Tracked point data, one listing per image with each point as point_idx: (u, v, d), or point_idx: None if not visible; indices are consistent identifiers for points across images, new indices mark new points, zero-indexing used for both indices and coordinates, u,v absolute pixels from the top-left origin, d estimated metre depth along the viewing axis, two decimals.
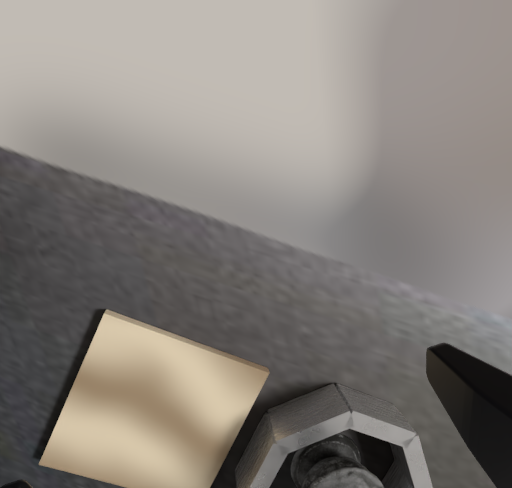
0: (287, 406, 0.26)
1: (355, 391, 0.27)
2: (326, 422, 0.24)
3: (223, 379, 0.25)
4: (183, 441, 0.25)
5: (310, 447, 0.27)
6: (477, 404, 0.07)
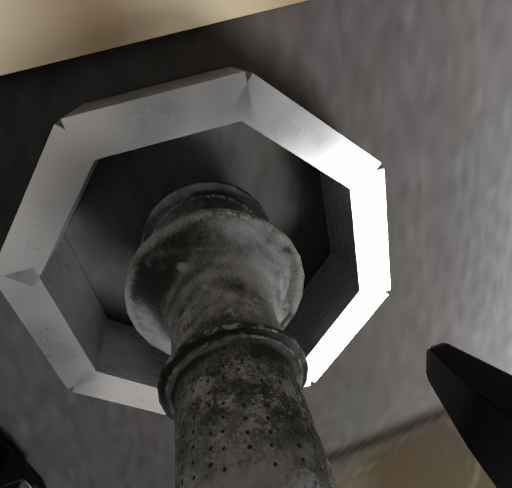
0: None
1: None
2: (341, 140, 0.12)
3: None
4: None
5: (224, 195, 0.14)
6: (477, 404, 0.07)
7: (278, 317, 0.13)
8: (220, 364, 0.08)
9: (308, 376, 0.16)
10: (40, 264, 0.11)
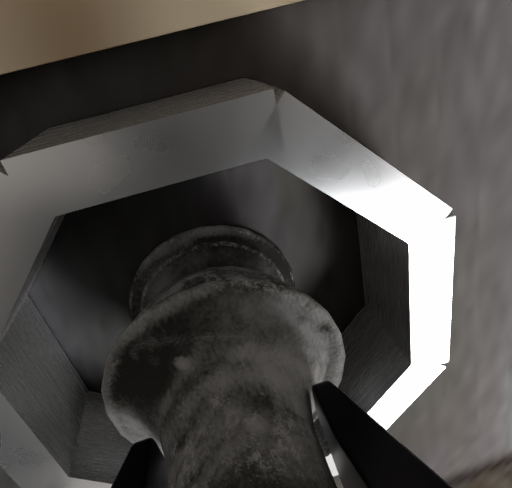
0: None
1: None
2: (402, 181, 0.08)
3: None
4: None
5: (235, 242, 0.11)
6: (340, 451, 0.07)
7: None
8: None
9: None
10: None
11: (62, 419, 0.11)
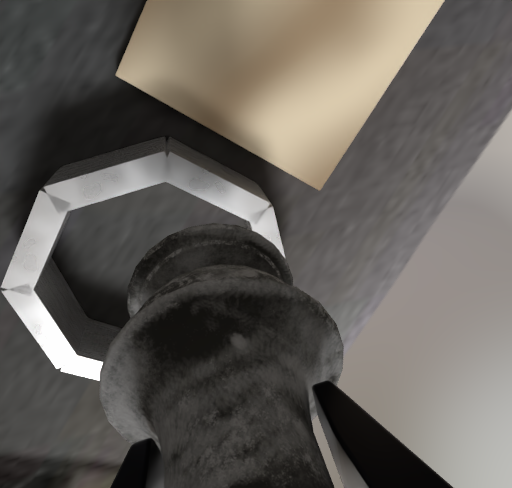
0: None
1: None
2: None
3: (326, 132, 0.19)
4: (244, 63, 0.17)
5: (274, 264, 0.12)
6: (340, 451, 0.07)
7: None
8: None
9: None
10: (76, 205, 0.16)
11: (47, 259, 0.18)
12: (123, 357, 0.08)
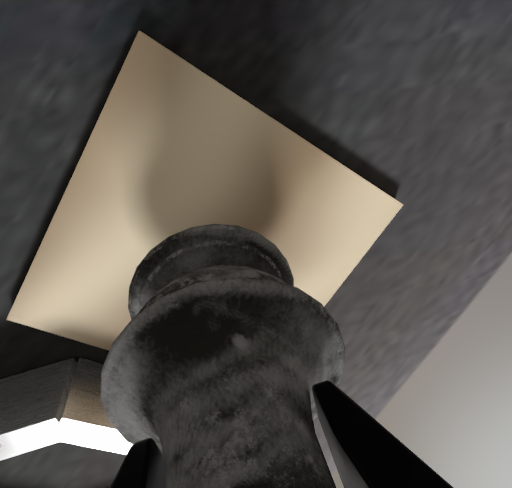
0: None
1: None
2: None
3: None
4: None
5: (275, 264, 0.12)
6: (340, 451, 0.07)
7: None
8: None
9: None
10: None
11: None
12: (124, 358, 0.08)
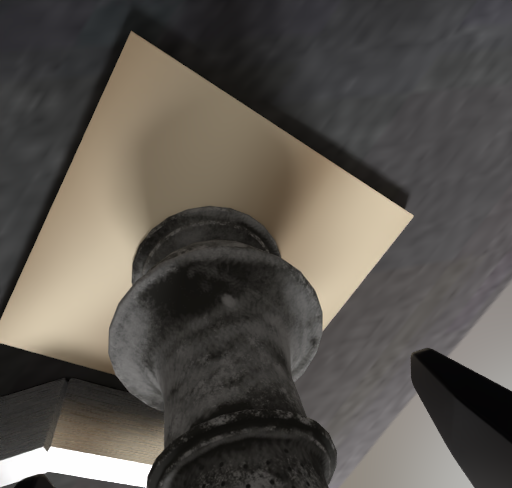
0: None
1: None
2: None
3: None
4: None
5: (264, 243, 0.13)
6: (458, 411, 0.07)
7: None
8: (287, 465, 0.06)
9: None
10: None
11: None
12: (129, 315, 0.09)
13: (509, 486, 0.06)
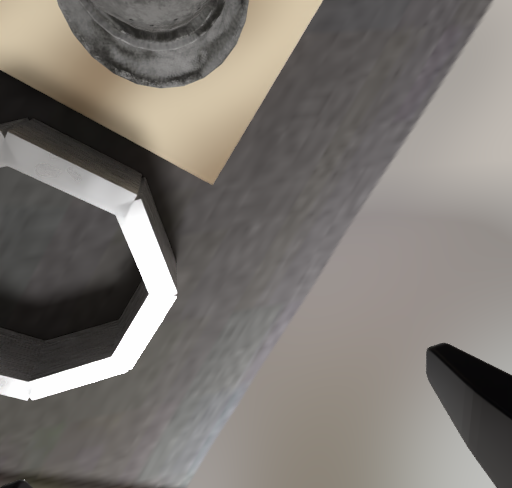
0: (154, 206, 0.19)
1: None
2: (163, 266, 0.17)
3: (212, 120, 0.17)
4: None
5: None
6: (477, 404, 0.07)
7: (189, 60, 0.12)
8: None
9: (30, 392, 0.19)
10: None
11: None
12: None
13: None
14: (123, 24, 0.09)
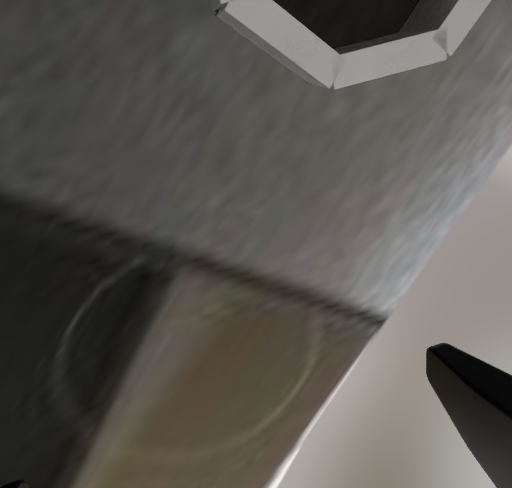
0: None
1: None
2: None
3: None
4: None
5: None
6: (477, 404, 0.07)
7: None
8: None
9: (337, 75, 0.15)
10: None
11: None
12: None
13: None
14: None
